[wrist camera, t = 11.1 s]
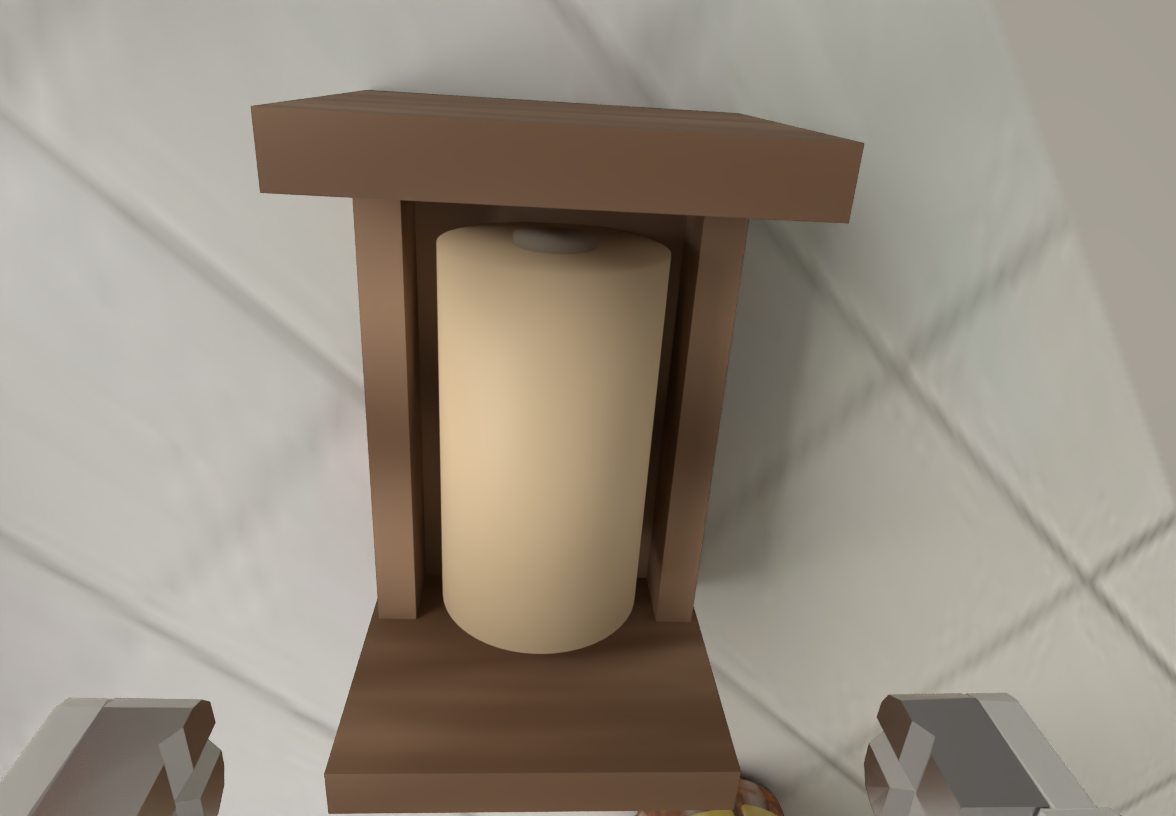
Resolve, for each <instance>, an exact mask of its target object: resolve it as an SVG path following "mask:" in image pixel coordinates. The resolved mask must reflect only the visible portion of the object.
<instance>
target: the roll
mask: <svg viewBox="0 0 1176 816" xmlns="http://www.w3.org/2000/svg"><path fill="white" fill-rule="evenodd" d="M436 252H437V306H438V361H439V416H440V470H441V525H442V580H443V599H444V604H445V606H446V609H447V611H448V613H449V614H450V616H451V618H452V619H453V620H454V621H455V622H456V624H457V625H458V626H459V627H461V628H462V629H463V630H464V631H465V632H467V633H468V634H470V635H471V636H473V637H474V638H476V639H478V640H480V641H482V642H484V643H486V644H489V645H492V646H495V647H498V648H501V649H505V650H509V651H514V652H521V653H530V654H552V653H561V652H568V651H572V650H577V649H581V648H584V647H587V646H590V645H592V644H595V643H597V642H599V641H601V640H603V639H605V638H606V637H608V636H609V635H611V634H612V633H614V632H615V631H616V630H617V629H618V628H619V627H621V626H622V624H623V623H624V622H625V621H626V620H627V618H628V616H629V615H630V613H631V611H632V608H633V605H634V598H635V589H636V580H637V571H638V561H639V552H640V542H641V533H642V524H643V514H644V505H645V496H646V486H647V477H648V468H649V458H650V449H651V439H652V430H653V421H654V411H655V402H656V393H657V383H658V374H659V365H660V355H661V346H662V336H663V327H664V318H665V308H666V299H667V290H668V280H669V271H670V262H671V251H670V250H669V249H668V248H667V247H666V246H664V245H663V244H661V243H659V242H657V241H655V240H652V239H649V238H647V237H643V236H640V235H636V234H632V233H628V232H624V231H619V230H614V229H608V228H601V227H594V226H586V225H577V224H565V223H547V222H505V223H489V224H480V225H473V226H466V227H462V228H457V229H454V230H450V231H448V232H446V233H443V234H442V235H440V236H439V237H438V238H437V241H436Z"/></svg>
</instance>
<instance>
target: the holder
mask: <svg viewBox="0 0 1176 816" xmlns="http://www.w3.org/2000/svg"><path fill="white" fill-rule="evenodd" d="M251 114H252V123H253V132H254V141H255V150H256V159H257V168H258V177H259V186H260V193H272V194H291V195H311V196H330V197H349V198H353V213H354V229H355V245H356V261H357V277H358V293H359V309H360V325H361V341H362V357H363V373H364V389H365V405H366V421H367V437H368V453H369V469H370V485H371V500H372V516H373V532H374V548H375V564H376V580H377V596H378V599H377V602H376V605H375V608H374V612H373V615H372V618H371V622H370V625H369V628H368V632H367V635H366V638H365V641H364V645H363V648H362V651H361V655H360V658H359V661H358V664H357V668H356V671H355V674H354V678H353V681H352V684H351V688H350V691H349V694H348V697H347V701H346V704H345V707H344V711H343V714H342V717H341V721H340V724H339V727H338V730H337V734H336V737H335V740H334V744H333V747H332V750H331V753H330V757H329V760H328V763H327V767H326V770H325V773H324V777H325V786H326V795H327V804H328V813H329V814H352V813H457V812H562V811H667V810H733V809H734V804H735V799H736V794H737V789H738V784H739V779H740V774H741V771H740V767H739V764H738V760H737V757H736V753H735V750H734V746H733V743H732V739H731V736H730V732H729V729H728V725H727V722H726V718H725V715H724V711H723V708H722V704H721V701H720V697H719V694H718V690H717V687H716V683H715V680H714V676H713V673H712V669H711V666H710V662H709V659H708V655H707V652H706V648H705V645H704V641H703V638H702V634H701V631H700V627H699V624H698V620H697V617H696V613H695V610H694V606H693V604H694V597H695V590H696V584H697V577H698V570H699V563H700V556H701V549H702V542H703V535H704V528H705V521H706V514H707V507H708V500H709V493H710V486H711V479H712V472H713V465H714V458H715V452H716V445H717V438H718V431H719V424H720V417H721V410H722V403H723V396H724V389H725V382H726V375H727V368H728V361H729V354H730V347H731V340H732V333H733V326H734V320H735V313H736V306H737V299H738V292H739V285H740V278H741V271H742V264H743V257H744V250H745V243H746V236H747V229H748V222H749V218H753V219H773V220H792V221H811V222H830V223H849V219H850V214H851V209H852V204H853V199H854V194H855V188H856V183H857V178H858V173H859V168H860V163H861V158H862V153H863V148H864V143H861V142H857V141H853V140H849V139H844V138H840V137H836V136H832V135H827V134H823V133H819V132H815V131H811V130H806V129H802V128H798V127H794V126H790V125H785V124H781V123H777V122H773V121H768V120H764V119H760V118H756V117H752V116H747V115H743V114H739V113H724V112H708V111H692V110H677V109H661V108H645V107H629V106H613V105H597V104H581V103H565V102H549V101H533V100H517V99H501V98H485V97H470V96H454V95H438V94H422V93H406V92H390V91H374V90H363V91H356V92H349V93H342V94H334V95H327V96H320V97H313V98H306V99H298V100H291V101H284V102H277V103H270V104H262V105H255V106H251ZM505 222H547V223H565V224H577V225H586V226H594V227H601V228H608V229H614V230H619V231H624V232H628V233H632V234H636V235H640V236H643V237H647V238H649V239H652V240H655V241H657V242H659V243H661V244H663V245H664V246H666V247H667V248H668V249H669V250H670V251H671V262H670V271H669V280H668V290H667V299H666V308H665V318H664V327H663V336H662V346H661V355H660V365H659V374H658V383H657V393H656V402H655V411H654V421H653V430H652V439H651V449H650V458H649V468H648V477H647V486H646V496H645V505H644V514H643V524H642V533H641V542H640V552H639V561H638V571H637V580H636V589H635V598H634V605H633V608H632V611H631V613H630V615H629V616H628V618H627V620H626V621H625V622H624V623H623V624H622V626H621V627H619V628H618V629H617V630H616V631H615V632H614V633H612V634H611V635H609V636H608V637H606V638H605V639H603V640H601V641H599V642H597V643H595V644H592V645H590V646H587V647H584V648H581V649H577V650H572V651H568V652H561V653H552V654H530V653H521V652H514V651H509V650H505V649H501V648H498V647H495V646H492V645H489V644H486V643H484V642H482V641H480V640H478V639H476V638H474V637H473V636H471V635H470V634H468V633H467V632H465V631H464V630H463V629H462V628H461V627H459V626H458V625H457V624H456V622H455V621H454V620H453V619H452V618H451V616H450V614H449V613H448V611H447V609H446V606H445V604H444V599H443V580H442V525H441V470H440V416H439V361H438V306H437V252H436V241H437V238H438V237H439V236H440V235H442V234H443V233H446V232H448V231H450V230H454V229H457V228H462V227H466V226H473V225H480V224H489V223H505Z"/></svg>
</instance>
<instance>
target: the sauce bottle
mask: <svg viewBox="0 0 1176 816" xmlns="http://www.w3.org/2000/svg"><path fill="white" fill-rule="evenodd" d="M635 816H784V815H783V811H782V809H781V807H780V805H779V802H778V801H777V799H776V798H775V796H774V795H773V794H772V793H771V792H770V791H769V790H768V789H767V788H765V787H762V786H760V785H759V784H756V783H755V782H752V781H749V780H745V779H741V778H740V779H739V784H738V789H737V794H736V799H735V804H734V809H733V810H667V811H638V812H637V814H636V815H635Z"/></svg>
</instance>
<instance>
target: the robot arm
mask: <svg viewBox="0 0 1176 816" xmlns="http://www.w3.org/2000/svg"><path fill="white" fill-rule="evenodd" d="M877 718H878V720H879V722H880V724H881V726H882V728H883V732H882V733H880V734H879V735H878V736H877V737H876V738H874V739H873V740H872V741H871V742H870V743H869V745H868V749H867V753H866V758H865V762H864V768H865V786H866V790H867V794H868V797H869V801H870V805H871V807H872V809H873V812H874V814H875V816H1121V815H1120V814H1118V813H1117V812H1115V811H1114V810H1112V809H1111V808H1097V807H1096V805H1095V804H1094V803H1093V801H1092V800H1091V799H1090V797H1089V796H1088V795H1087V793H1086V792H1085V791H1084V789H1083V788H1082V787H1081V785H1080V784H1079V783H1078V781H1077V780H1076V778H1075V777H1074V776H1073V774H1072V773H1071V772H1070V770H1069V769H1068V768H1067V766H1066V765H1065V764H1064V762H1063V761H1062V760H1061V758H1060V757H1059V756H1058V754H1057V753H1056V752H1055V750H1054V749H1053V747H1052V746H1051V745H1050V743H1049V742H1048V741H1047V739H1046V738H1045V737H1044V735H1043V734H1042V733H1041V731H1040V730H1039V729H1038V727H1037V726H1036V725H1035V723H1034V722H1033V721H1032V719H1031V718H1030V717H1029V715H1028V714H1027V712H1026V711H1025V710H1024V708H1023V707H1022V706H1021V704H1020V703H1019V702H1018V701H1017V700H1016V699H1015V698H1014V697H1012V696H1011V695H1009V694H1008V693H967V694H962V693H950V694H893V695H888V696H887V697H886V698H885V699H884V700H883V701H882V702H881V706H880V709H879V712H878V715H877ZM215 723H216V722H215V718H214V715H213V711H212V707H211V703H210V702H209V701H205V700H198V699H146V698H114V699H106V698H68V699H67V700H65V701H64V702H62V703H61V704H59V705H58V706H56V707H55V708H54V709H53V710H52V712H51V713H50V714H49V716H48V717H47V719H46V720H45V721H44V723H43V724H42V725H41V727H40V728H39V730H38V731H37V732H36V734H35V735H34V736H33V738H32V739H31V741H30V742H29V743H28V745H27V746H26V747H25V749H24V750H23V751H22V753H21V754H20V756H19V757H18V758H17V760H16V761H15V762H14V764H13V765H12V767H11V768H10V769H9V771H8V772H7V773H6V775H5V776H4V778H3V779H2V780H1V782H0V816H217V815H218V812H219V807H220V803H221V798H222V793H223V788H224V762H223V756H222V751H221V750H220V749H219V748H218V747H217V746H216V745H215V744H213V743H212V742H211V741H210V740H209V739H208V738H209V736H210V734H211V731H212V729H213V727H214V725H215Z"/></svg>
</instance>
